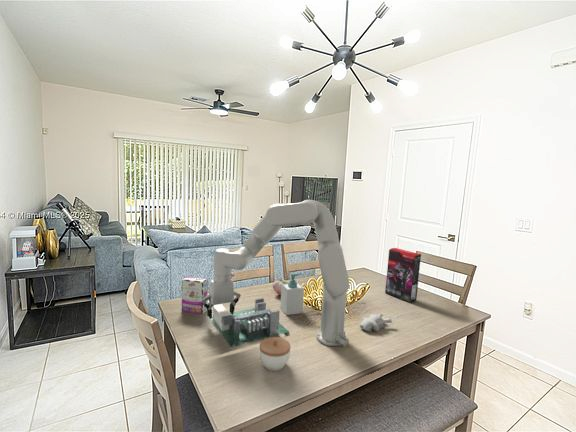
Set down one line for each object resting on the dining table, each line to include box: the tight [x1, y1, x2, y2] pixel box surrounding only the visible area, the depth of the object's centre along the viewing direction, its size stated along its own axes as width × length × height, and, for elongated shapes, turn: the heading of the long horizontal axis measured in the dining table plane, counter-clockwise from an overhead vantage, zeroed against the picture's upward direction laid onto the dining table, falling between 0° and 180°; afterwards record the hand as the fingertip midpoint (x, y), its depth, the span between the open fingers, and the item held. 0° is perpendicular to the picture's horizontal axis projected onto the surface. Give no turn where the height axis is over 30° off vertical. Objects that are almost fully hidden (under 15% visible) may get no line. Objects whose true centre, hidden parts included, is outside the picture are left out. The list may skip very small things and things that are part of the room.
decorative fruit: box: [272, 277, 289, 296], centre depth 169 cm, size 9×8×10 cm
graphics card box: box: [384, 247, 422, 303], centre depth 174 cm, size 17×7×27 cm, turn 37°
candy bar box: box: [181, 276, 209, 315], centre depth 143 cm, size 11×5×16 cm, turn 76°
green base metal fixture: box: [210, 297, 290, 348], centre depth 132 cm, size 27×26×11 cm
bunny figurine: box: [359, 313, 393, 333], centre depth 138 cm, size 10×5×15 cm
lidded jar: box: [259, 336, 291, 372], centre depth 106 cm, size 11×11×9 cm
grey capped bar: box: [221, 308, 272, 326], centre depth 126 cm, size 4×22×2 cm, turn 121°
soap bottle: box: [279, 272, 305, 316], centre depth 150 cm, size 9×9×19 cm
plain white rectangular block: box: [212, 304, 231, 331], centre depth 132 cm, size 12×4×6 cm, turn 31°
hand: (220, 315), depth 132 cm, fingers open, 9 cm apart
